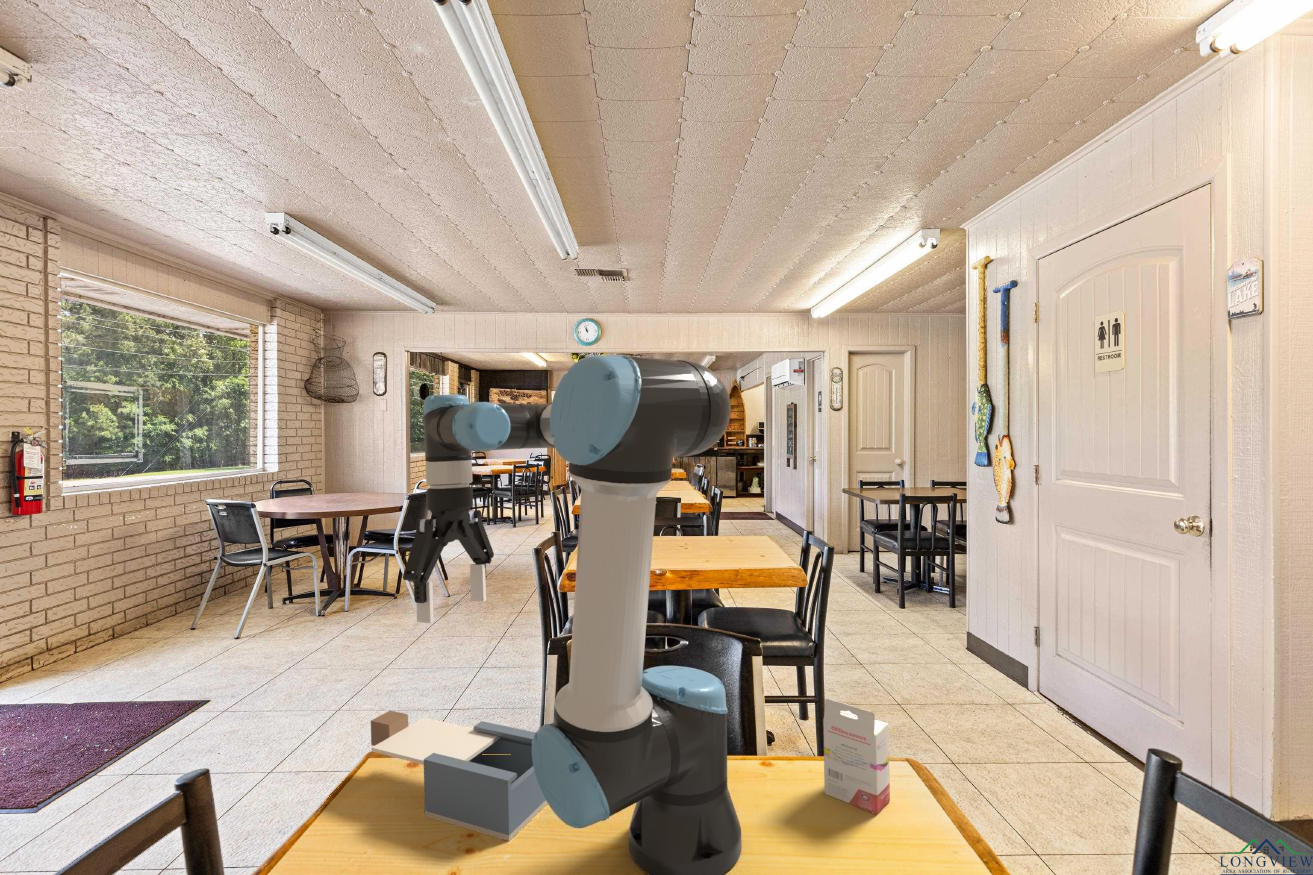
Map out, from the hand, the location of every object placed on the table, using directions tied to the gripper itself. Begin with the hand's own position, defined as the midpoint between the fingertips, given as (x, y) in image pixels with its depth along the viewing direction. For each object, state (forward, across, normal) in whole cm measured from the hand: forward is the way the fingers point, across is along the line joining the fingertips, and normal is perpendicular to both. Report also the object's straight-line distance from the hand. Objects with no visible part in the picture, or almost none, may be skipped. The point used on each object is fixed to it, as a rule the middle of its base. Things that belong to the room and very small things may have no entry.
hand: (453, 610), depth 109 cm
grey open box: (+26, +8, +13) cm, 30 cm away
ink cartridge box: (+27, -12, +64) cm, 70 cm away
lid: (+20, +8, 0) cm, 22 cm away
